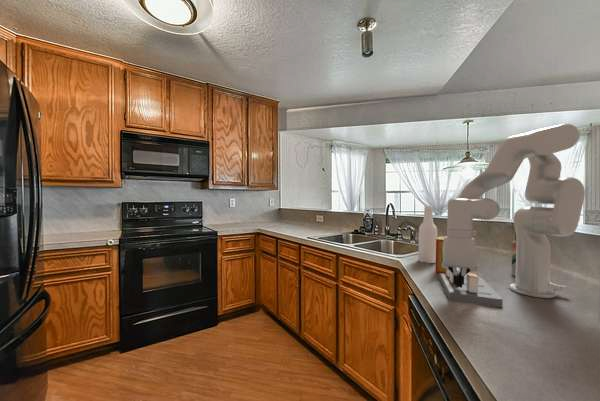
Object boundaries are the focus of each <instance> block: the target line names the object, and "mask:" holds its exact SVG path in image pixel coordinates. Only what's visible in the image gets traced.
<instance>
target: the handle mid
mask: <svg viewBox="0 0 600 401" xmlns="http://www.w3.org/2000/svg"><path fill="white" fill-rule="evenodd" d="M459 272H460V269H459V267H457V273H458V274H459ZM450 281H451V283H453V273H452V272H451V271H450Z"/></svg>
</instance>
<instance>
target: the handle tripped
mask: <svg viewBox="0 0 600 401" xmlns="http://www.w3.org/2000/svg"><path fill="white" fill-rule="evenodd" d="M466 276H467V289H468V291H469V292H474V293H478V277H479V276H478V275H477V274H476V273H470V272H469V273H467V274H466Z"/></svg>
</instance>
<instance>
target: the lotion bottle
mask: <svg viewBox="0 0 600 401" xmlns="http://www.w3.org/2000/svg"><path fill="white" fill-rule="evenodd" d="M511 246H512V247H511V275H512V276H514V277H515V275H516V231H515V235H514V240H513V241H512V243H511Z"/></svg>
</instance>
